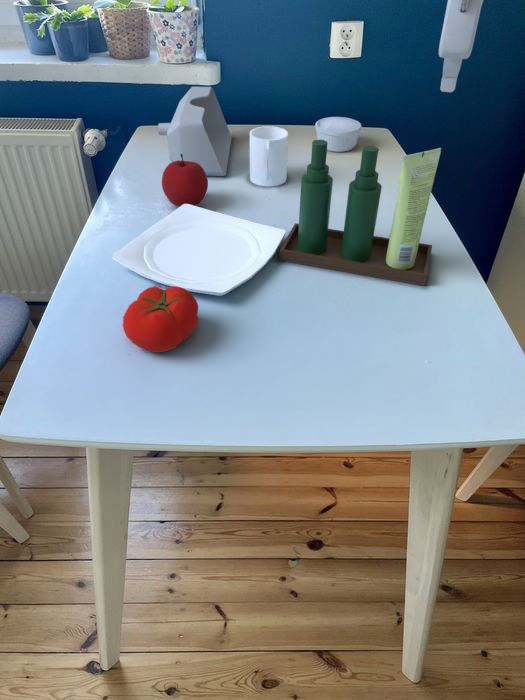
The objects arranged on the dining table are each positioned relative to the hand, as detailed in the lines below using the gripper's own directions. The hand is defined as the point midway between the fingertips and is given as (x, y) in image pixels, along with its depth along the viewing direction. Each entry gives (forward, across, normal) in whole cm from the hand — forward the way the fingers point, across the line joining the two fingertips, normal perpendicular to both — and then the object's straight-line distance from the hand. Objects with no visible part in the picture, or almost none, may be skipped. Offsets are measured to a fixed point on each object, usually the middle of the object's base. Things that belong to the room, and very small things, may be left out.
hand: (449, 80), depth 72 cm
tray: (+30, +2, +10) cm, 32 cm away
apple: (+30, +12, +47) cm, 57 cm away
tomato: (+30, -28, +33) cm, 53 cm away
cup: (+30, +27, +34) cm, 53 cm away
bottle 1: (+30, +2, +18) cm, 35 cm away
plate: (+30, -6, +36) cm, 47 cm away
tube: (+30, +2, +2) cm, 30 cm away
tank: (+30, +35, +55) cm, 72 cm away
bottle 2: (+30, +2, +10) cm, 32 cm away
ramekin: (+30, +53, +24) cm, 66 cm away
